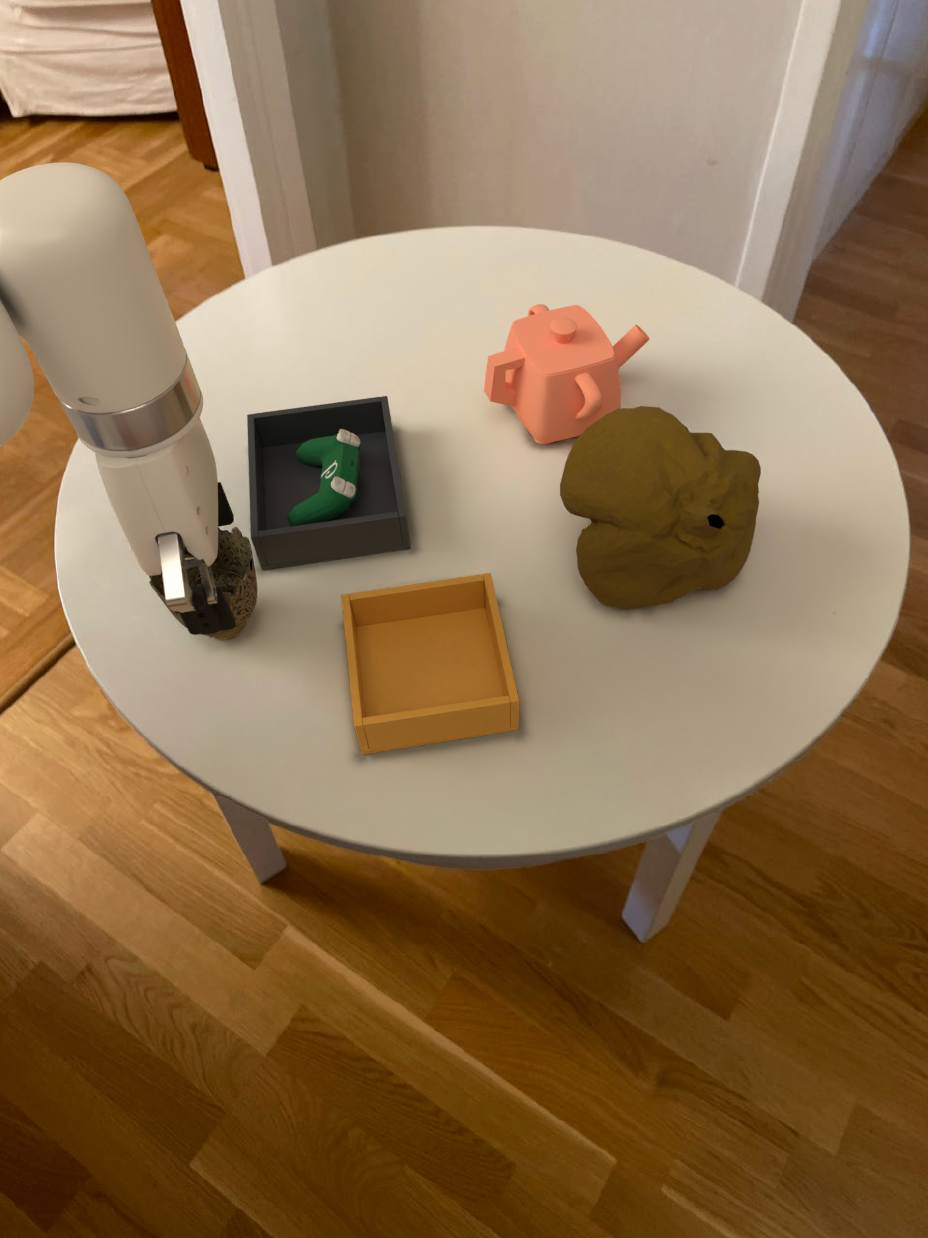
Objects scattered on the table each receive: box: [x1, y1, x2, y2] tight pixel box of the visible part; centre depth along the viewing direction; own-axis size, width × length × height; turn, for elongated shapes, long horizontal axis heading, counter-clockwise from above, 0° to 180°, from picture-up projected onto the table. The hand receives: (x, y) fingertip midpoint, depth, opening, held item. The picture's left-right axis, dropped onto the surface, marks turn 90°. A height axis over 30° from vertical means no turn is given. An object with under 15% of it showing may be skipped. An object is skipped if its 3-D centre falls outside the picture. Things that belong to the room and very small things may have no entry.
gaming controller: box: [286, 429, 361, 527], centre depth 78 cm, size 9×4×6 cm
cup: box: [148, 526, 258, 641], centre depth 69 cm, size 8×7×8 cm
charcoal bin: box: [246, 395, 412, 571], centre depth 78 cm, size 12×14×4 cm
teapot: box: [483, 303, 651, 445], centre depth 81 cm, size 12×12×10 cm
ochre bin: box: [340, 572, 520, 755], centre depth 67 cm, size 11×11×4 cm
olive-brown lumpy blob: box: [559, 405, 762, 611], centre depth 69 cm, size 14×14×14 cm
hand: (213, 574), depth 68 cm, fingers open, 9 cm apart
